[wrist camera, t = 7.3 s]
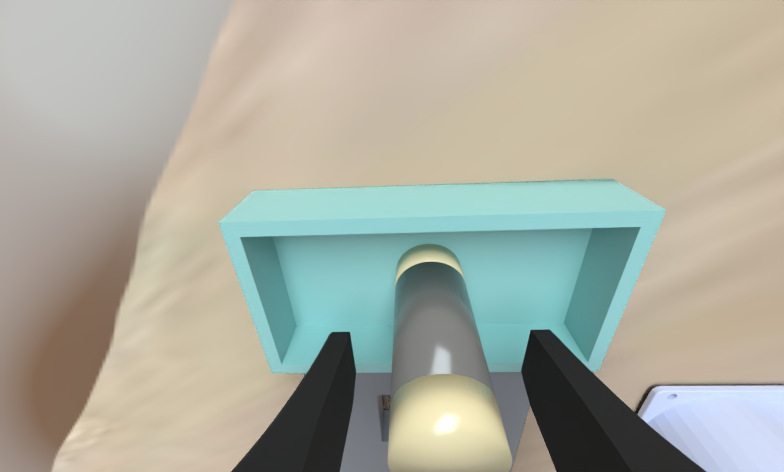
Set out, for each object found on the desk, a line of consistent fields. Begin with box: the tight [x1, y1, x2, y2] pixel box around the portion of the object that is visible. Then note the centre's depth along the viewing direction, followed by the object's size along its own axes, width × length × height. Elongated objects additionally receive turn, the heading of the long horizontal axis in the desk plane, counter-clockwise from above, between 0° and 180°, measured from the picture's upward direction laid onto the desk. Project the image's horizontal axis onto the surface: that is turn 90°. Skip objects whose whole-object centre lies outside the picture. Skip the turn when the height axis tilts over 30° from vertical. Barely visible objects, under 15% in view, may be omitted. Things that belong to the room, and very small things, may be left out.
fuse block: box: [304, 372, 530, 472], centre depth 21 cm, size 12×18×2 cm, turn 3°
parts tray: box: [218, 179, 666, 373], centre depth 14 cm, size 15×8×3 cm, turn 92°
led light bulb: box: [388, 244, 512, 472], centre depth 11 cm, size 3×3×8 cm
